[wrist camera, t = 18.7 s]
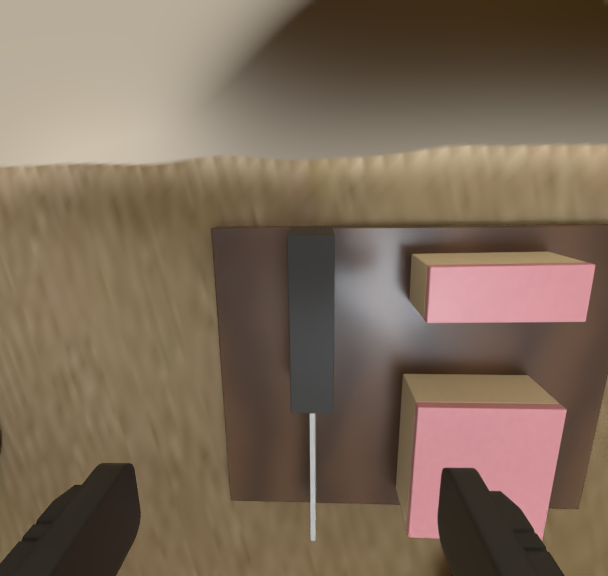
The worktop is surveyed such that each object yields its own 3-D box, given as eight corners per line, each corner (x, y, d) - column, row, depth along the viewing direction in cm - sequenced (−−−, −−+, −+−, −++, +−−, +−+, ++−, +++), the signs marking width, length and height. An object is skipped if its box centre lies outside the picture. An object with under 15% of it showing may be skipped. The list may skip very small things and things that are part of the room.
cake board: (233, 490, 29) (230, 500, 28) (215, 226, 24) (210, 228, 23) (570, 498, 28) (579, 509, 27) (626, 223, 23) (640, 225, 22)
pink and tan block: (408, 301, 23) (426, 323, 19) (411, 253, 23) (430, 266, 19) (541, 299, 23) (586, 322, 19) (548, 251, 22) (596, 264, 18)
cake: (395, 487, 27) (408, 538, 23) (402, 373, 25) (418, 407, 21) (510, 490, 26) (542, 542, 23) (528, 374, 24) (567, 409, 20)
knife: (292, 227, 22) (286, 234, 19) (332, 226, 22) (335, 234, 18) (297, 491, 27) (293, 540, 23) (330, 491, 27) (332, 541, 23)
